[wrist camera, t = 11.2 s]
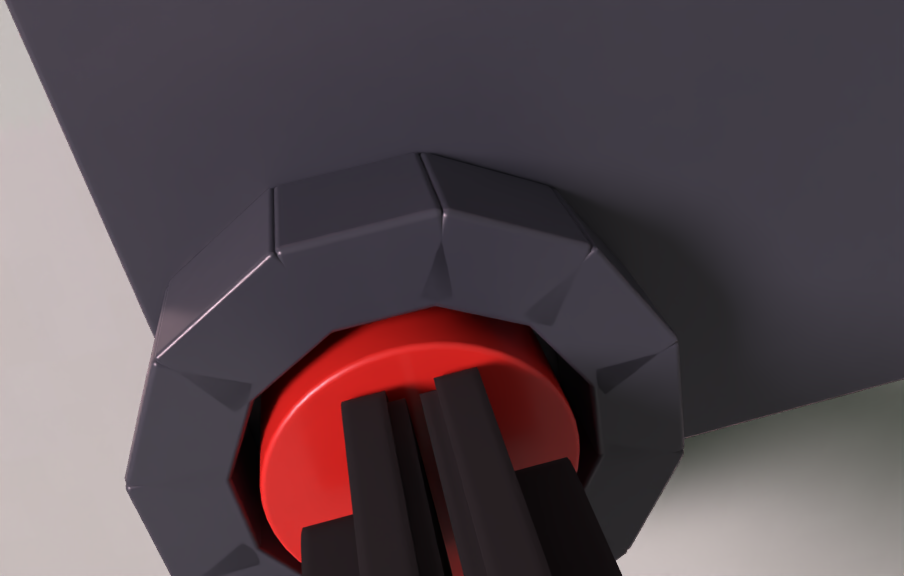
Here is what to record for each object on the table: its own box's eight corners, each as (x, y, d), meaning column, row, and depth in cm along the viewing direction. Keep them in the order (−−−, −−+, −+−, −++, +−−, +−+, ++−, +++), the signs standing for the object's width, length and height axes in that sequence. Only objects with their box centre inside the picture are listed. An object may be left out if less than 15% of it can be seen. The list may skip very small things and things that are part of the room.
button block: (244, 509, 16) (237, 707, 12) (-2, -59, 11) (-127, 12, 7) (880, 339, 17) (1039, 480, 13) (939, -267, 11) (1223, -292, 8)
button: (304, 532, 13) (310, 628, 12) (220, 314, 11) (214, 396, 10) (559, 463, 13) (596, 548, 12) (523, 238, 11) (562, 306, 10)
